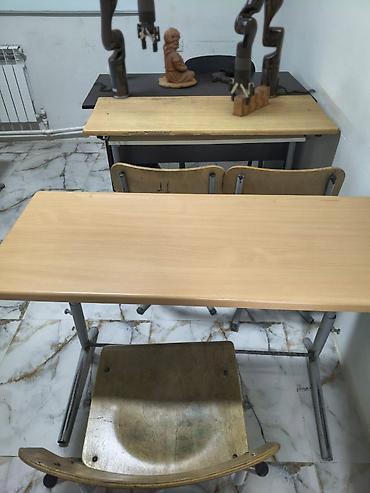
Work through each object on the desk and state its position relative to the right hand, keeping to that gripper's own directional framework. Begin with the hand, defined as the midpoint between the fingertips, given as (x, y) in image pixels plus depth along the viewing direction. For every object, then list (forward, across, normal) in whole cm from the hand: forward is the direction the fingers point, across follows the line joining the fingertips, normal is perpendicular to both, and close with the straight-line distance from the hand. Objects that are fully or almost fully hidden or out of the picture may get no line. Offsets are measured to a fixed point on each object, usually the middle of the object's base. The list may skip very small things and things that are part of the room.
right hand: (240, 103), depth 176 cm
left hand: (-23, -36, -25) cm, 49 cm away
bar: (+6, 0, +10) cm, 12 cm away
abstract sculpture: (+6, -41, +46) cm, 62 cm away
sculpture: (+6, -63, +19) cm, 66 cm away
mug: (+6, -100, +1) cm, 100 cm away
